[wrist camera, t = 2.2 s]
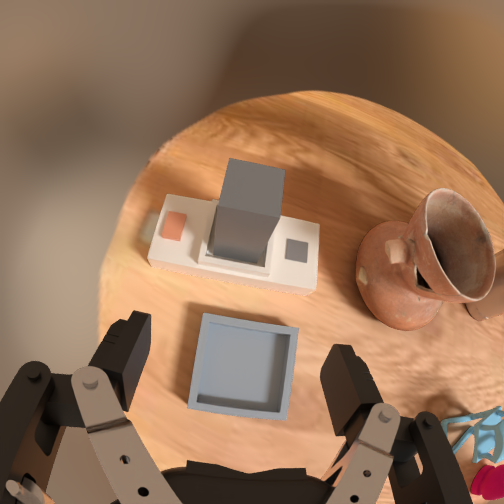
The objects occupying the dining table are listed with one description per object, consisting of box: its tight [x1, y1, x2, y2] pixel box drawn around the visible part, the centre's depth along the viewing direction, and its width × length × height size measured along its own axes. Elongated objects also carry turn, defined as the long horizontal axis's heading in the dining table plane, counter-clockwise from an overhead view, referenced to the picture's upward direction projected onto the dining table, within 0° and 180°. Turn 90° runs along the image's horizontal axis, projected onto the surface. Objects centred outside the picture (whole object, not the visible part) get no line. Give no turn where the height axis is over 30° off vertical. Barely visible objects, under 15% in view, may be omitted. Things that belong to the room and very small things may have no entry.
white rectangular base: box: [147, 194, 320, 296], centre depth 32 cm, size 18×8×4 cm, turn 82°
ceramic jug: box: [355, 188, 496, 331], centre depth 29 cm, size 18×14×14 cm
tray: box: [187, 312, 299, 420], centre depth 28 cm, size 10×10×2 cm
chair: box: [441, 406, 504, 463], centre depth 23 cm, size 8×8×12 cm
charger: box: [213, 158, 285, 264], centre depth 26 cm, size 5×5×10 cm
